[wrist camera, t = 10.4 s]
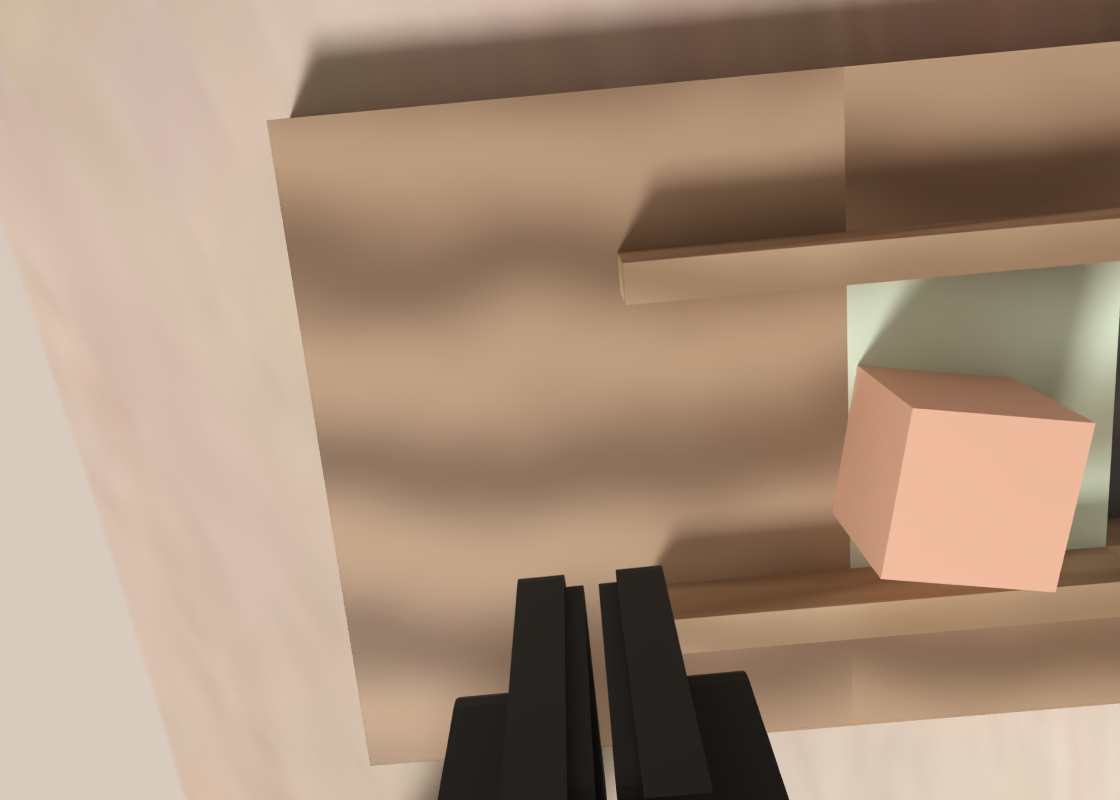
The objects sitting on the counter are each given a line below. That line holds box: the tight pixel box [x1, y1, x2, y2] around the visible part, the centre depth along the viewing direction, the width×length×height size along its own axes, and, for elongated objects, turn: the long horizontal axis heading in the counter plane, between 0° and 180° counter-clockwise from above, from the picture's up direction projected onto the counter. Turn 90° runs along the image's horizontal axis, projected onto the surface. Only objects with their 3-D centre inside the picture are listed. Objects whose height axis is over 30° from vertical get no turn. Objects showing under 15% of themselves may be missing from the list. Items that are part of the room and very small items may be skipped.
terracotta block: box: [832, 365, 1096, 592], centre depth 30 cm, size 5×5×5 cm
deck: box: [267, 41, 1120, 766], centre depth 32 cm, size 22×32×5 cm
